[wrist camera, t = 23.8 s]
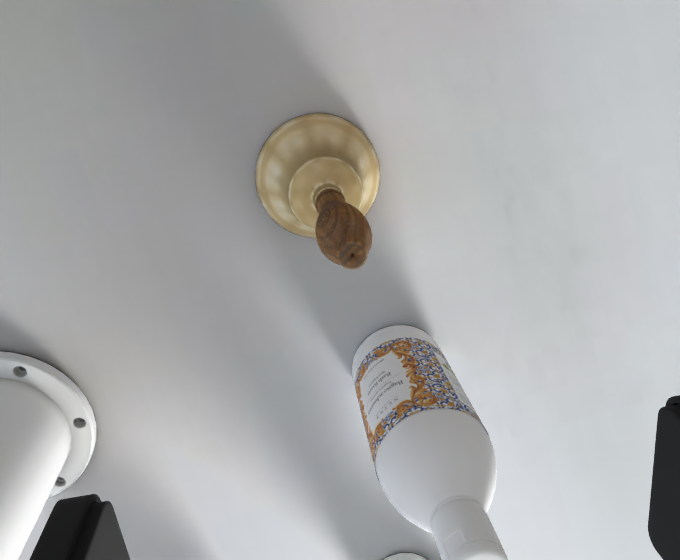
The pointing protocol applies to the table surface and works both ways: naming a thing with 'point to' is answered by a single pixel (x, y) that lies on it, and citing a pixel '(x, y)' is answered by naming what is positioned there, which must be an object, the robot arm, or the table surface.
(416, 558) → the paper towel roll
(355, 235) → the hand bell
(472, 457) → the bath foam
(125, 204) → the table surface
